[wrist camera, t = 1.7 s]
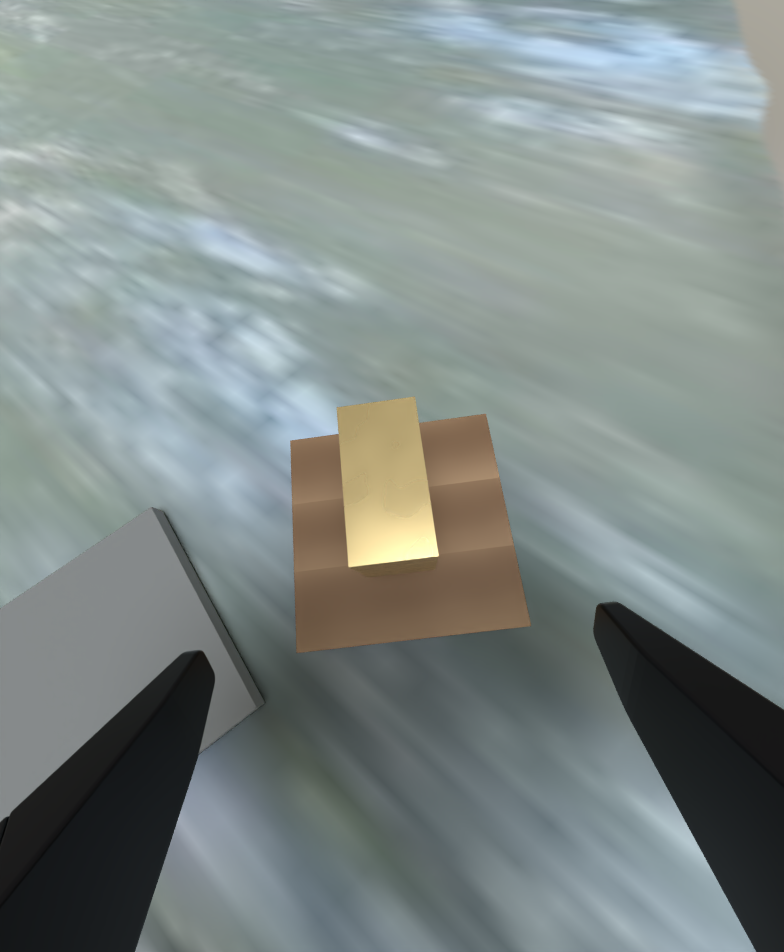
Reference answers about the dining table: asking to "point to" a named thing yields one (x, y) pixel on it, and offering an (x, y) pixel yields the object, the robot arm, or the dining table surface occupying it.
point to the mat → (105, 650)
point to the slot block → (417, 593)
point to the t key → (385, 489)
